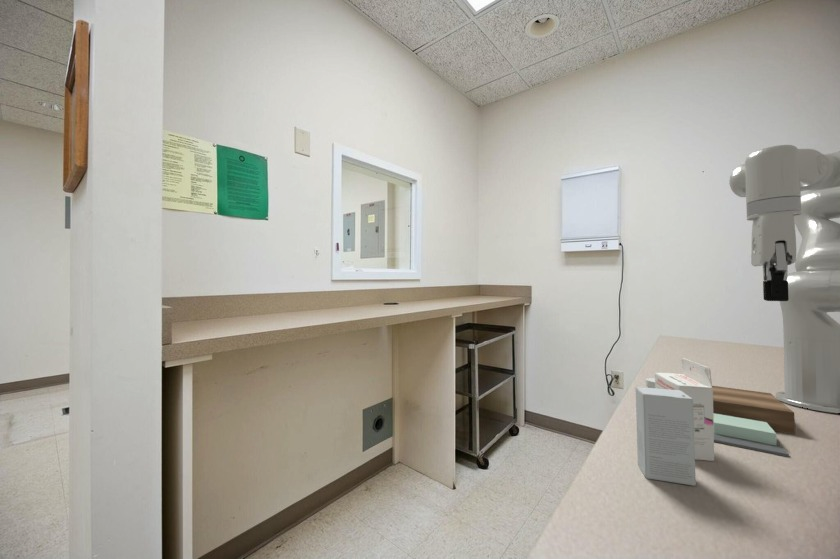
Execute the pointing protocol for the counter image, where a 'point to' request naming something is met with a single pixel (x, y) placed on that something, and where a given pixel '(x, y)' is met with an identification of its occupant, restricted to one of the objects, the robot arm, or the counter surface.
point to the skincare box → (665, 435)
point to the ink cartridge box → (695, 403)
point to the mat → (751, 444)
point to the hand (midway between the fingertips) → (775, 300)
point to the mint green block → (744, 429)
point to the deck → (753, 407)
